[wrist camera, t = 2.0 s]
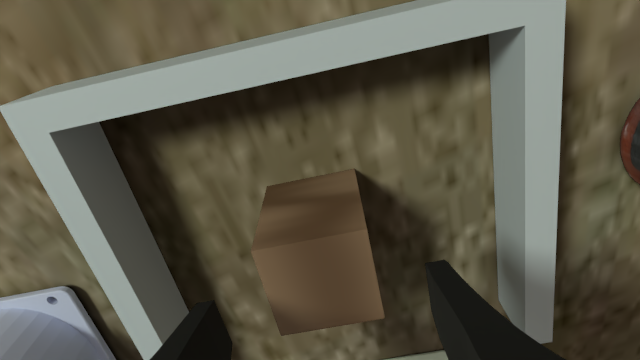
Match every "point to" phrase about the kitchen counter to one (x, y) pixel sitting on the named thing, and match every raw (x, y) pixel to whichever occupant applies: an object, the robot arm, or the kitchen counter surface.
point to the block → (316, 254)
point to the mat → (424, 356)
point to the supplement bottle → (631, 143)
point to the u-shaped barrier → (289, 62)
